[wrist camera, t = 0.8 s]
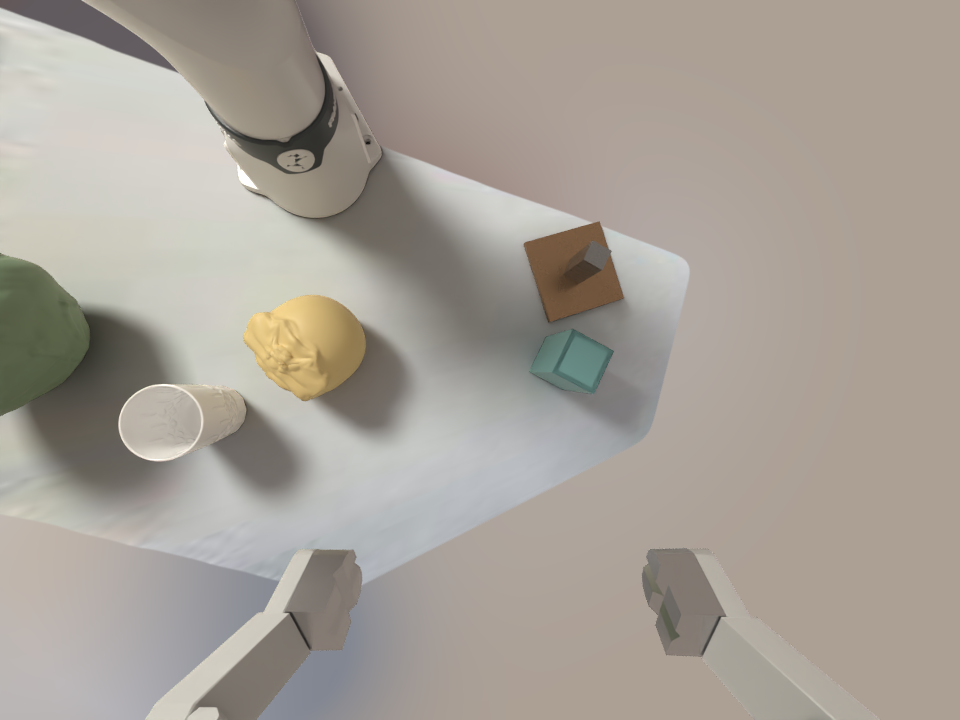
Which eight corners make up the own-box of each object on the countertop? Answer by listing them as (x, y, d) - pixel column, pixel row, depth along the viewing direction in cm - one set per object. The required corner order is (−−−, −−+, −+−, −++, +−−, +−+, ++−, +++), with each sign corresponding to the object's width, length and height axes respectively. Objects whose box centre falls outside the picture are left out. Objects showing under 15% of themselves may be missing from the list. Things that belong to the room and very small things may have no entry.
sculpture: (259, 345, 47) (209, 338, 37) (330, 286, 49) (301, 263, 38) (320, 408, 48) (288, 419, 37) (387, 348, 49) (375, 343, 39)
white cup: (232, 370, 47) (178, 369, 37) (263, 422, 47) (218, 435, 37) (173, 401, 46) (102, 409, 36) (206, 453, 46) (144, 476, 36)
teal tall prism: (529, 372, 52) (551, 372, 42) (546, 336, 52) (572, 328, 43) (563, 389, 53) (593, 394, 43) (580, 354, 53) (613, 351, 43)
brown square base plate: (497, 295, 52) (509, 281, 44) (548, 195, 53) (568, 164, 45) (597, 348, 53) (626, 345, 46) (643, 250, 55) (679, 230, 47)
